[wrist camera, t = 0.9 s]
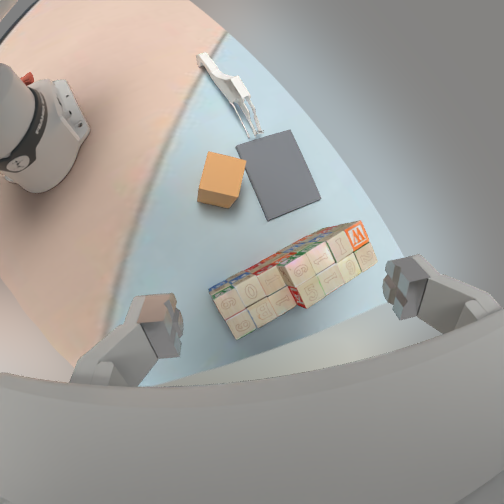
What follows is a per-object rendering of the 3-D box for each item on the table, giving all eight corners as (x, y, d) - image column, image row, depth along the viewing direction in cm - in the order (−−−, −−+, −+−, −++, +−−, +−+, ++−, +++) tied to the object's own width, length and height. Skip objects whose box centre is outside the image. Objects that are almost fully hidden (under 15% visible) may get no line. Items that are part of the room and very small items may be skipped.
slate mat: (235, 147, 44) (236, 145, 43) (288, 131, 46) (290, 129, 45) (267, 220, 45) (268, 220, 44) (319, 199, 47) (321, 198, 46)
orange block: (197, 201, 43) (198, 188, 34) (204, 171, 43) (208, 151, 34) (228, 208, 44) (238, 197, 35) (235, 178, 44) (246, 160, 35)
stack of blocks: (226, 323, 43) (239, 348, 31) (207, 288, 43) (213, 302, 31) (336, 260, 47) (379, 261, 35) (322, 227, 47) (362, 219, 35)
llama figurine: (242, 135, 50) (201, 55, 42) (269, 132, 41) (220, 33, 32) (233, 140, 50) (192, 58, 41) (259, 137, 40) (209, 36, 32)
